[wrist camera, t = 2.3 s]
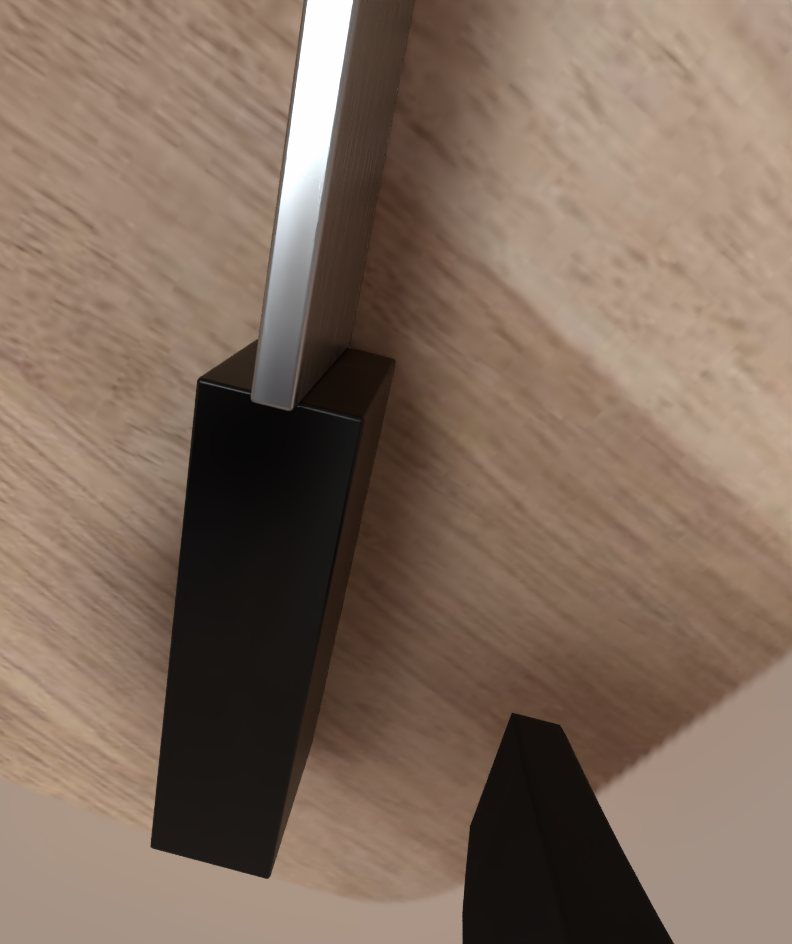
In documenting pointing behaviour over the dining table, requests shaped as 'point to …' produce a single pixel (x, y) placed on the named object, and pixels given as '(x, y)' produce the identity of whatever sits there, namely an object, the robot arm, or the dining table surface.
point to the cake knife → (281, 466)
